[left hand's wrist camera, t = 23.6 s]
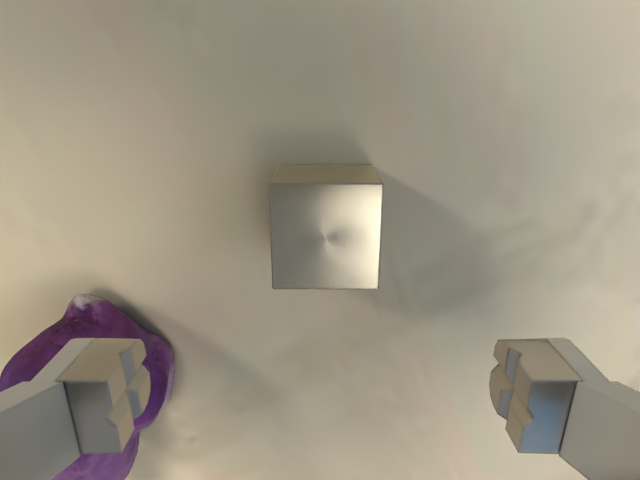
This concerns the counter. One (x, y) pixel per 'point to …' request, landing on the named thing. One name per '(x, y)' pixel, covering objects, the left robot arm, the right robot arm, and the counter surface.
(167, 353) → the figurine
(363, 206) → the beige cube
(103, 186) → the counter surface
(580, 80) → the counter surface
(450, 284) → the counter surface
